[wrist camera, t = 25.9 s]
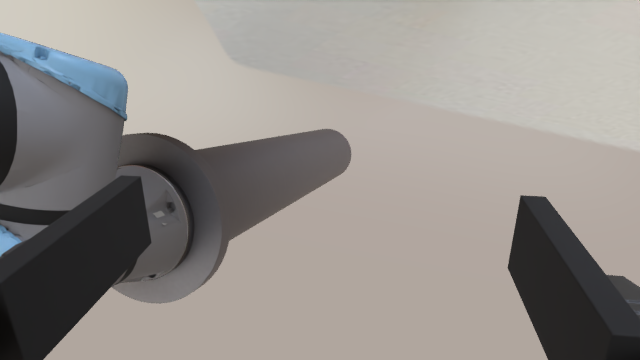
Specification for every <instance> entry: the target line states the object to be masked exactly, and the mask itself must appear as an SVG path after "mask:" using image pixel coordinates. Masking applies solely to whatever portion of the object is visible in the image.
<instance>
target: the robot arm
mask: <svg viewBox="0 0 640 360" xmlns="http://www.w3.org/2000/svg"><path fill="white" fill-rule="evenodd" d="M127 93H128V86H127V81H126V80H125V78H124V76H123V75H122V74H121V73H120V72H119V71H117V70H116V69H113V68H111V67H108V66H105V65H102V64H99V63H96V62H93V61H90V60H86V59H84V58H80V57H77V56H74V55H71V54H68V53H65V52H61V51H58V50H55V49H52V48H49V47H46V46H43V45H39V44H36V43H33V42H30V41H26V40H23V39H20V38H17V37H14V36H10V35H7V34H3V33H0V360H43V359H44V358H45V357H46V356H47V355H48V354H49V353H50V352H51V351H52V349H53V348H54V347H55V346H56V345H57V344H58V343H59V342H60V341H61V340H62V339H63V338H64V337H65V336H66V334H67V333H68V332H69V331H70V330H71V329H72V328H73V327H74V326H75V325H76V324H77V323H78V322H79V320H80V319H81V318H82V317H83V316H84V315H85V314H86V313H87V312H88V311H89V310H90V309H91V308H92V307H93V305H94V304H95V303H96V302H97V301H98V300H99V299H100V298H101V297H102V296H103V295H104V294H105V293H106V292H107V290H108V289H109V288H110V287H112V286H114V285H116V284H118V283H124V282H137V281H148V280H153V279H157V278H160V277H162V276H164V275H166V274H167V273H169V272H171V271H172V270H174V269H175V268H177V267H178V266H179V265H180V264H181V263H182V262H183V261H184V259H185V258H186V256H187V255H188V253H189V251H190V248H191V246H192V242H193V237H194V218H193V213H192V209H191V206H190V203H189V201H188V199H187V197H186V195H185V193H184V191H183V190H182V188H181V187H180V186H179V184H178V183H177V182H176V181H175V180H174V179H173V178H172V177H171V176H169V175H168V174H167V173H165V172H164V171H162V170H160V169H158V168H156V167H154V166H150V165H146V164H129V165H124V166H119V167H117V166H118V159H119V153H120V146H121V139H122V133H123V126H124V121H126V120H127V114H126V113H125V111H126V103H127ZM508 269H509V271H510V274H511V276H512V278H513V280H514V283H515V285H516V288H517V290H518V292H519V294H520V296H521V298H522V301H523V303H524V306H525V308H526V310H527V313H528V315H529V317H530V319H531V321H532V324H533V326H534V328H535V331H536V333H537V335H538V337H539V340H540V342H541V344H542V347H543V349H544V351H545V353H546V356H547V358H548V360H640V287H639V286H637V285H635V284H634V283H632V282H631V281H629V280H628V279H626V278H625V277H623V276H613V275H606V274H605V273H604V272H603V271H602V269H601V268H600V267H599V265H598V264H597V263H596V261H595V260H594V259H593V258H592V256H591V255H590V254H589V253H588V251H587V250H586V249H585V247H584V246H583V245H582V244H581V242H580V241H579V239H578V238H577V237H576V236H575V234H574V233H573V232H572V230H571V229H570V228H569V227H568V225H567V224H566V223H565V221H564V220H563V219H562V218H561V216H560V215H559V214H558V212H557V211H556V210H555V209H554V207H553V206H552V205H551V203H550V202H549V201H548V199H547V198H546V197H538V196H521V197H520V203H519V209H518V214H517V219H516V225H515V230H514V236H513V241H512V247H511V253H510V258H509V264H508Z"/></svg>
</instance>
